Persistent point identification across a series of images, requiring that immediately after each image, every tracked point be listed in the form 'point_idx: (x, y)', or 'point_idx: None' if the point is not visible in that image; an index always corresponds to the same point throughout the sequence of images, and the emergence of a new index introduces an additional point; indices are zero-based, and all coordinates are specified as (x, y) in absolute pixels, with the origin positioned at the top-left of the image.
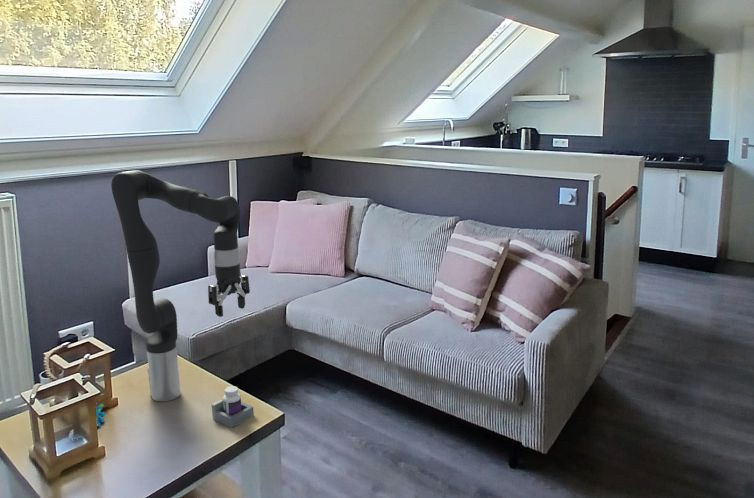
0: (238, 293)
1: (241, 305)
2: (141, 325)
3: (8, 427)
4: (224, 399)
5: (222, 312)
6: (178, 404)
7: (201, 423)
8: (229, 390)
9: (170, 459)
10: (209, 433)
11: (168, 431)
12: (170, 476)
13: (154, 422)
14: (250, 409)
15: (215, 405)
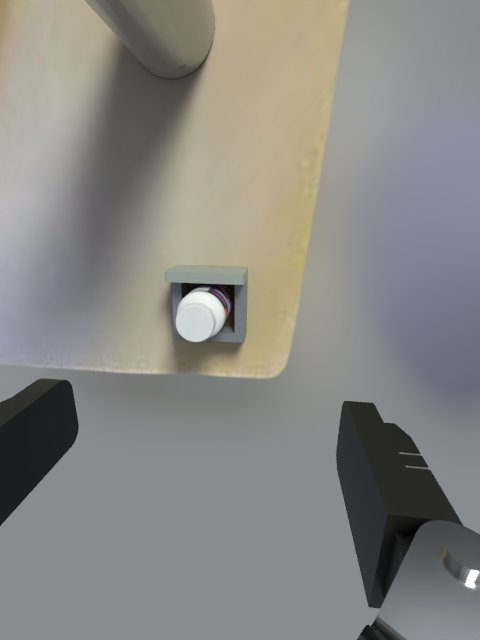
0: (422, 607)
1: (344, 472)
2: None
3: None
4: (177, 312)
5: (45, 469)
6: (163, 120)
7: (148, 259)
8: (185, 326)
9: (36, 315)
10: (137, 307)
11: (79, 222)
12: (15, 355)
13: (74, 153)
14: (235, 341)
15: (170, 281)
